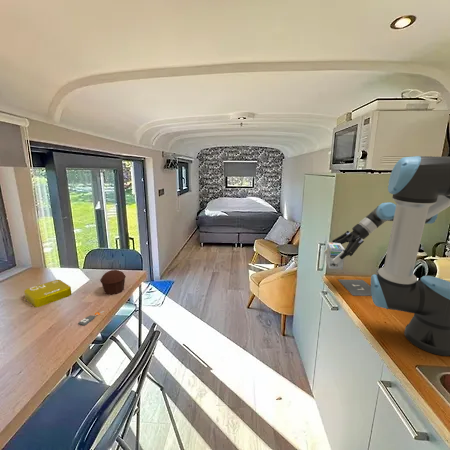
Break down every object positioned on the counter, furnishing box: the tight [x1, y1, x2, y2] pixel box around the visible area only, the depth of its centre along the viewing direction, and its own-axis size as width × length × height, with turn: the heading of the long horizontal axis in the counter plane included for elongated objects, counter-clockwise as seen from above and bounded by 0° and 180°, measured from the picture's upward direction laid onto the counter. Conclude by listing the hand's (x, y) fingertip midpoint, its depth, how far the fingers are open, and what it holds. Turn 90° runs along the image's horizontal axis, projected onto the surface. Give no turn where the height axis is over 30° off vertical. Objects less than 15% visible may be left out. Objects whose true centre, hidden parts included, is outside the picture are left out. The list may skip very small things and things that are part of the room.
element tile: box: [23, 279, 72, 308], centre depth 120 cm, size 15×15×5 cm
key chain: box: [77, 310, 105, 327], centre depth 105 cm, size 13×4×2 cm, turn 162°
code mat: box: [337, 278, 372, 297], centre depth 134 cm, size 18×14×1 cm
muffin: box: [99, 269, 127, 296], centre depth 126 cm, size 12×11×10 cm
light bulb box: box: [325, 241, 346, 270], centre depth 130 cm, size 11×7×11 cm, turn 168°
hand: (329, 257), depth 131 cm, fingers closed on light bulb box, 11 cm apart
